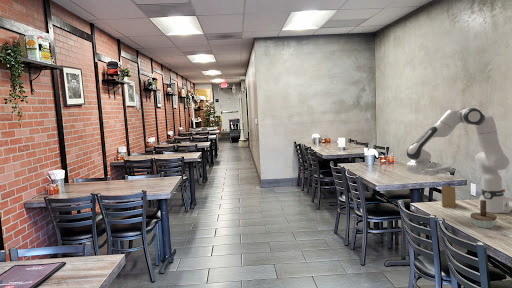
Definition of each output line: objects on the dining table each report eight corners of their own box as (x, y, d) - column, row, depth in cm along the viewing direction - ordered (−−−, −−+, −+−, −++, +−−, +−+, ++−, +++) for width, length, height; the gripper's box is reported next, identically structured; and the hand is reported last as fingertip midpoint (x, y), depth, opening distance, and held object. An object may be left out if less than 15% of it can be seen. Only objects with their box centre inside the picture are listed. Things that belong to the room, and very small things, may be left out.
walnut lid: (477, 213, 217) (477, 196, 216) (501, 217, 206) (500, 200, 205) (466, 217, 210) (465, 200, 210) (489, 222, 199) (489, 204, 198)
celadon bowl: (479, 221, 215) (478, 214, 215) (497, 225, 207) (497, 217, 206) (470, 224, 210) (470, 217, 210) (488, 228, 202) (488, 221, 201)
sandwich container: (454, 202, 261) (453, 182, 260) (456, 207, 248) (455, 186, 246) (441, 201, 265) (440, 182, 264) (442, 207, 251) (441, 186, 250)
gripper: (420, 166, 231) (440, 168, 219) (438, 162, 241) (459, 164, 229) (420, 176, 231) (441, 178, 219) (438, 171, 242) (459, 173, 230)
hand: (450, 171), depth 224 cm, fingers open, 8 cm apart
